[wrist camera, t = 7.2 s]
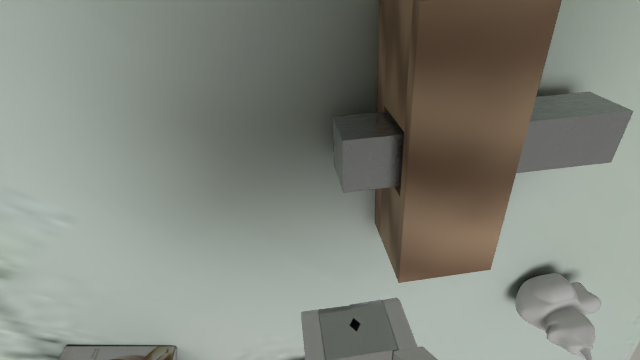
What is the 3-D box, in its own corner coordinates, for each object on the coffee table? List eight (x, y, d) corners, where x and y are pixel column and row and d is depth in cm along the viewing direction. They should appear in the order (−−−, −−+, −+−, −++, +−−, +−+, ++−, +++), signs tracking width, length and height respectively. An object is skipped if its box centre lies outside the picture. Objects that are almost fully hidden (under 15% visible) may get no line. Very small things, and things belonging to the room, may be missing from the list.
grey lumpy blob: (506, 272, 33) (567, 354, 26) (577, 253, 33) (657, 331, 26) (503, 309, 36) (558, 391, 29) (569, 292, 36) (638, 370, 29)
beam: (379, -13, 19) (420, 1, 14) (488, -22, 20) (564, -12, 15) (374, 222, 28) (398, 282, 23) (450, 212, 28) (490, 269, 23)
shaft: (332, 116, 21) (342, 140, 19) (589, 91, 23) (633, 111, 20) (334, 164, 23) (343, 192, 20) (572, 138, 24) (610, 162, 22)
